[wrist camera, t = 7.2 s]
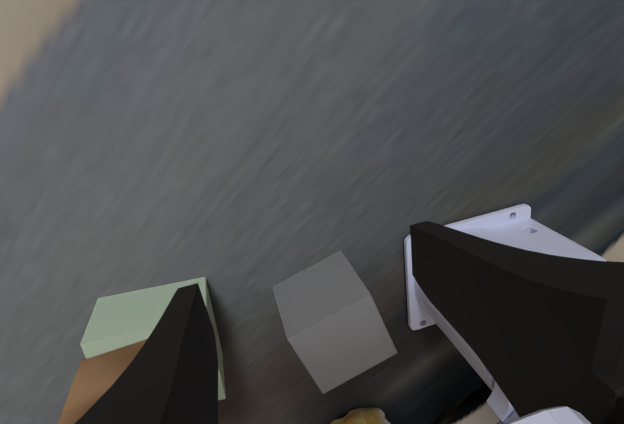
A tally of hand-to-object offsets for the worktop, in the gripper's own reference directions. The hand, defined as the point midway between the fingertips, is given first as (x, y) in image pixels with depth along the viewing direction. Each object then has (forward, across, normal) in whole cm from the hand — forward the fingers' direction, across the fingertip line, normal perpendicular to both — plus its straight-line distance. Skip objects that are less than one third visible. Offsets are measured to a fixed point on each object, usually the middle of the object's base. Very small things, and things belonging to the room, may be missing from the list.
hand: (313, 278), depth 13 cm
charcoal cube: (+10, -2, +9) cm, 14 cm away
